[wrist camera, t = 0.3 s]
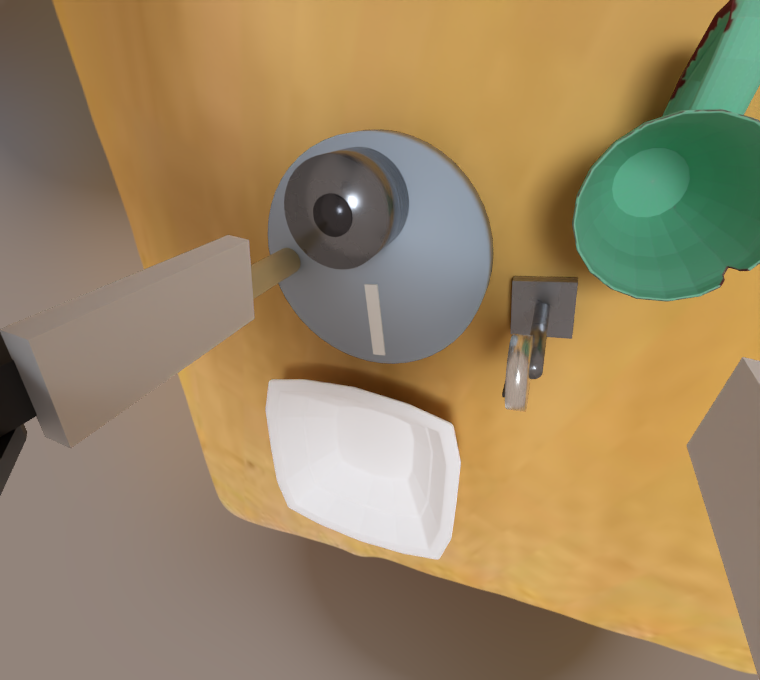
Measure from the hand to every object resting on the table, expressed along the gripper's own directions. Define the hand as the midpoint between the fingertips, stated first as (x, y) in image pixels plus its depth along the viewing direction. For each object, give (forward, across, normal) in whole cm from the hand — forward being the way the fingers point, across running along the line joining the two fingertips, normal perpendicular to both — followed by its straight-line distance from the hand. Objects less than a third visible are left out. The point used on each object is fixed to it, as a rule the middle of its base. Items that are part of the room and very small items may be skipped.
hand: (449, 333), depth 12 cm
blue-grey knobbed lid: (+25, -11, -8) cm, 28 cm away
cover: (+22, -12, -3) cm, 25 cm away
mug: (+27, +8, +3) cm, 28 cm away
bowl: (+27, -10, -32) cm, 43 cm away
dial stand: (+26, +4, -10) cm, 28 cm away
